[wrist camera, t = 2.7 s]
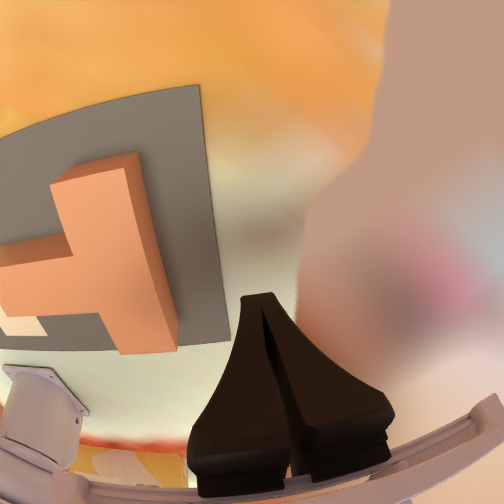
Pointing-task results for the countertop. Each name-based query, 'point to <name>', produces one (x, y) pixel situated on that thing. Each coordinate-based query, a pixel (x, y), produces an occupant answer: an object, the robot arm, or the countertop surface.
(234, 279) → the countertop surface
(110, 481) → the pasta box
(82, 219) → the t block
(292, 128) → the countertop surface
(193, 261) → the slate mat
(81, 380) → the countertop surface
